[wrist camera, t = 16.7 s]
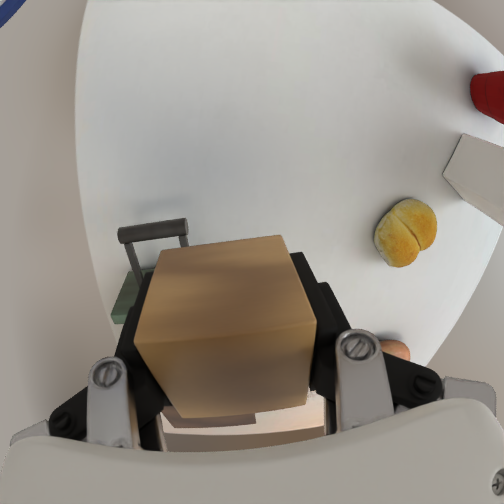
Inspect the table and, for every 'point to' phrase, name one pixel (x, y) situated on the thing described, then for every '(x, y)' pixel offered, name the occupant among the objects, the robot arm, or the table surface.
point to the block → (228, 328)
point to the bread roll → (405, 232)
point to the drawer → (136, 276)
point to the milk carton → (479, 175)
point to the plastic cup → (489, 94)
